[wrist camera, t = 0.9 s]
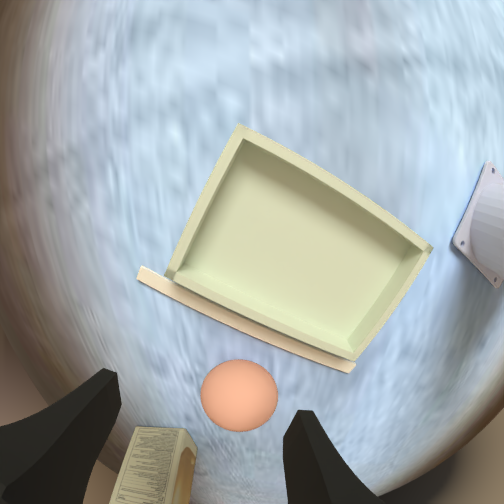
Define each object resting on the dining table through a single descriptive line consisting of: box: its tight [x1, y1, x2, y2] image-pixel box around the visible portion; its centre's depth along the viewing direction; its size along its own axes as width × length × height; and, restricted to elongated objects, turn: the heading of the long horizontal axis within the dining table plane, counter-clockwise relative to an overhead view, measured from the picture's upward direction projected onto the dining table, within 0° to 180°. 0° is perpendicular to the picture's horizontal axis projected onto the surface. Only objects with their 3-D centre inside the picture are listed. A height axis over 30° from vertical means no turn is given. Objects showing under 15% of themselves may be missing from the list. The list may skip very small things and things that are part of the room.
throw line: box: [137, 265, 356, 373], centre depth 19 cm, size 18×1×1 cm, turn 62°
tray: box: [164, 123, 433, 361], centre depth 16 cm, size 14×10×2 cm
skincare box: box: [109, 426, 197, 504], centre depth 18 cm, size 6×4×12 cm
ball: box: [201, 359, 278, 432], centre depth 17 cm, size 6×6×6 cm
